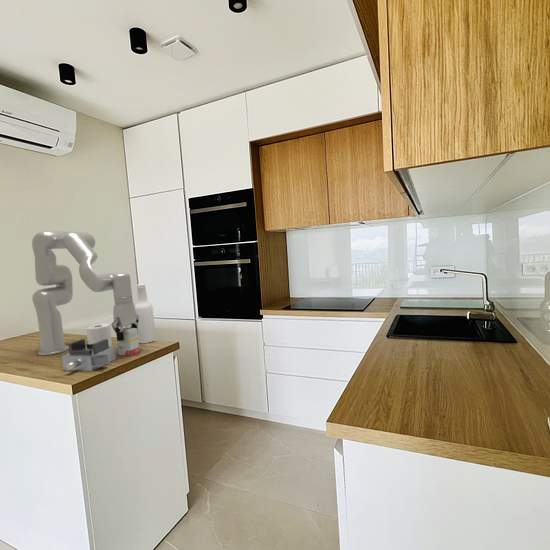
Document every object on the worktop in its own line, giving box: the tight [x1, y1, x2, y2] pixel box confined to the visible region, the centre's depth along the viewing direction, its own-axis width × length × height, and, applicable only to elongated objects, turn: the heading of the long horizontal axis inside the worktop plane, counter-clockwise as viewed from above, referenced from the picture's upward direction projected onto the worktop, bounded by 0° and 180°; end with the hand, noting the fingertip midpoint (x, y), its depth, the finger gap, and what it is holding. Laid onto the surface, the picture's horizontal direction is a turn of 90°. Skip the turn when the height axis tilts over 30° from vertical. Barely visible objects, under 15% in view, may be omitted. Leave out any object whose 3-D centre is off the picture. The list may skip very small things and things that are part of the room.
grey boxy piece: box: [61, 338, 118, 372], centre depth 136 cm, size 18×18×10 cm
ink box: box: [116, 327, 140, 357], centre depth 150 cm, size 9×5×12 cm, turn 66°
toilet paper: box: [85, 323, 113, 346], centre depth 158 cm, size 10×10×12 cm
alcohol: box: [134, 283, 157, 344], centre depth 168 cm, size 9×9×30 cm
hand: (127, 337), depth 149 cm, fingers open, 9 cm apart
